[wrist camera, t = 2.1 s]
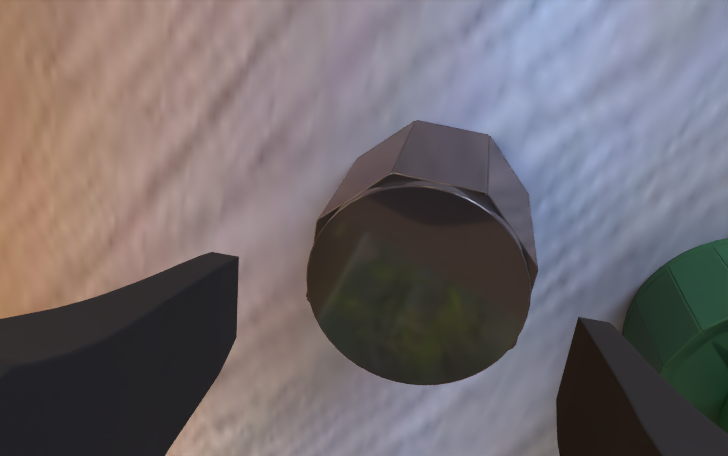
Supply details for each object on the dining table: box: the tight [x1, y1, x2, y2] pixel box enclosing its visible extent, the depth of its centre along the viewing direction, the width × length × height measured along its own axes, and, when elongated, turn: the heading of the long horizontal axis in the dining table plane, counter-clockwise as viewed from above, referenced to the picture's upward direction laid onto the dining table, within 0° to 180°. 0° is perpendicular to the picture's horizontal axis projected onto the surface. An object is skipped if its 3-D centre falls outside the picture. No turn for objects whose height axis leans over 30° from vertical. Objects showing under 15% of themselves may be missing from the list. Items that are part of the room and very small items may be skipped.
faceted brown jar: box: [306, 120, 538, 385], centre depth 19 cm, size 5×5×6 cm
